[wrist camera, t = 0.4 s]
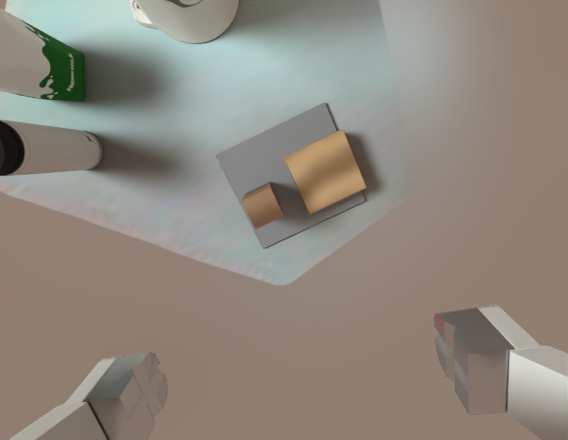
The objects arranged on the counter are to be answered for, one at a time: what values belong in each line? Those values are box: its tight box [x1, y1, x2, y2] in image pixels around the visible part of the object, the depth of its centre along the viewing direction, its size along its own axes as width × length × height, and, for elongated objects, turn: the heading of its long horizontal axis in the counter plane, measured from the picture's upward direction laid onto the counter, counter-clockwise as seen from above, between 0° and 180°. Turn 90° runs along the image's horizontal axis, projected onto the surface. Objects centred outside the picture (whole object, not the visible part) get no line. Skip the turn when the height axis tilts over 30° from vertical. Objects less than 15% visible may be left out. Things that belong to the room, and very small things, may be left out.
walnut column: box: [241, 182, 284, 230], centre depth 48 cm, size 4×4×10 cm
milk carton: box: [0, 8, 85, 101], centre depth 38 cm, size 9×9×20 cm
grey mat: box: [216, 103, 366, 249], centre depth 53 cm, size 18×20×1 cm
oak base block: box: [283, 129, 366, 214], centre depth 50 cm, size 10×10×4 cm
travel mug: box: [0, 120, 103, 176], centre depth 40 cm, size 6×7×20 cm
